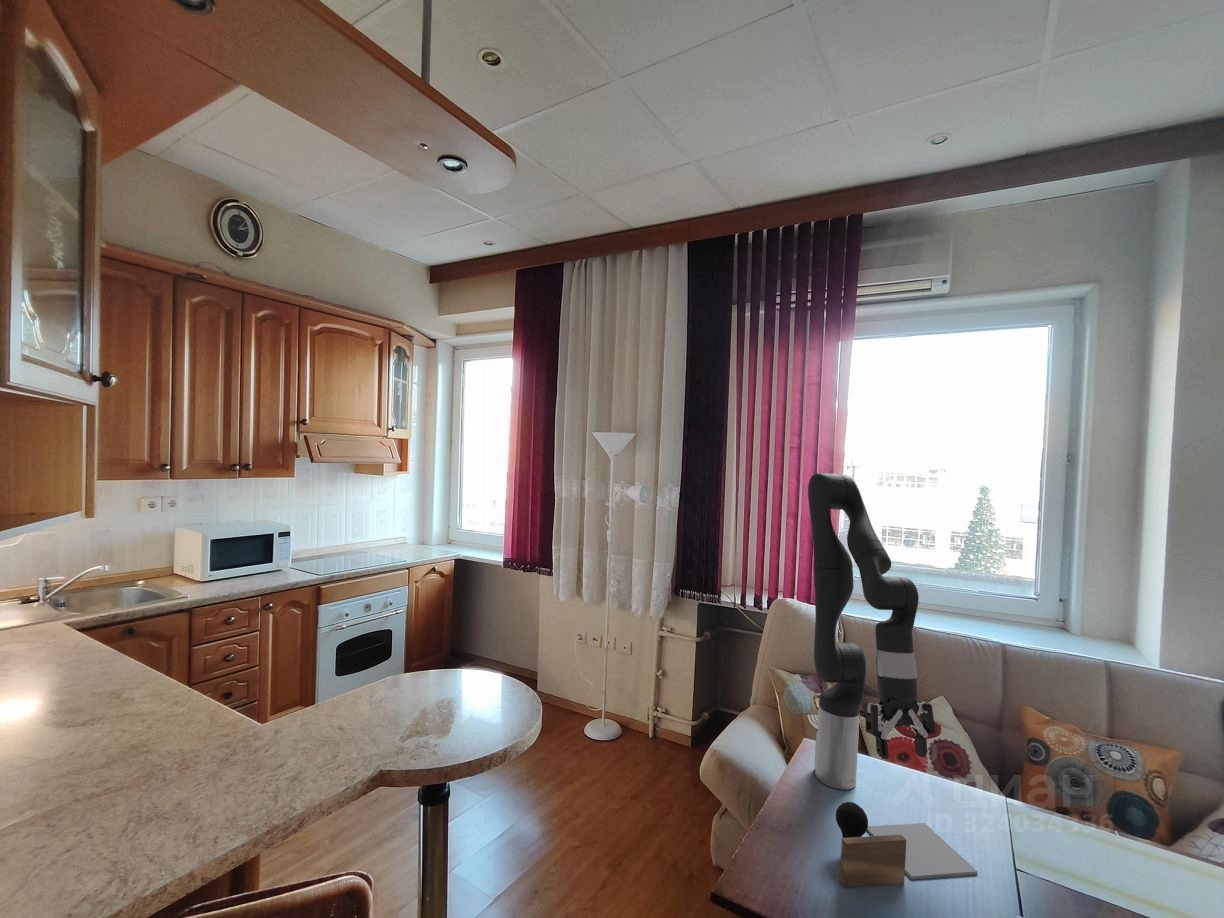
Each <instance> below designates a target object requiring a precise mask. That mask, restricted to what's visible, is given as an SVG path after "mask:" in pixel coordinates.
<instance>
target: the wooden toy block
mask: <svg viewBox="0 0 1224 918" xmlns="http://www.w3.org/2000/svg"><path fill="white" fill-rule="evenodd" d="M840 851H841V852H840V871H839V882H840V884H841V885H842V887H843V888H844V889H845V888H846V889H847V888H858V887H859V888H861V887H873V886H886V885H899V884H900V885H901V883H902V884H905V876H906V875H905V874H906V873H905V858H906V839H905V838H904V837H903V836H902V835H901V834H900V835H884V836H871V835H869V836H861V837H851V838H843V837H841V849H840Z"/></svg>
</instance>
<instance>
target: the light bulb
mask: <svg viewBox="0 0 1224 918" xmlns="http://www.w3.org/2000/svg"><path fill="white" fill-rule="evenodd" d="M835 821H836V824H837V826H838V828H839V829H840V832H841V836H842V837H841V838H851V837H863V836H864V835H865V833H866V832H867V828H868V826H869V820H868V816H867V814H866V812H865V810H864V809H863V808H862V807H861V806H860V805H858V804H857V803H855V802H852V801H845V802H842V803H841V804H839V805H838V806H837V808H836V811H835Z"/></svg>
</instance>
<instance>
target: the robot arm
mask: <svg viewBox="0 0 1224 918" xmlns="http://www.w3.org/2000/svg"><path fill="white" fill-rule="evenodd" d="M808 481H809V482H808V486H807V499H808V507H809V516H810V523H811V530H812V531H811V532H812V550H813V583H814V584H813V585H814V602H815V603H814V604H815V605H814V606H815V611H814V612H815V622H814V641H813V643H814V644H813V645H814V646H813V663H814V669H815V672H816V674H817V677H818V678H819V679H820V680H821V681H822V682H824V683H834V685H833V686H831V687H829V688H827V689H824V690H823V691H821V693H820V694H819V697H818V717H817V718H818V721H817V731H816V733H815V746H814V747H815V748H814V750H815V752H814V768H813V769H814V770H815V771H814V773H815V777H816V779H817V780H819V782H821V783H822V784H823V785H825V786H828V787H830V788H833V789H837V790H851V789H854V788H855V787H856V784H857V772H858V771H857V770H858V752H859V732H860V714H861V713H860V710H861V707H862V705H863V700H864V692H865V682H866V676H867V675H866V672H867V662H866V661H867V660H866V657H865V654H864V652H863V650H862V648H861V646H859V644H857V643H855V642H841V641H840V642H837V641H836V631H837V625H838V621H839V619H840V616H841V614H842V613H843V611H844V610H845V608H846V606H847V604H848V602H849V601H850V599H851V597H852V594H853V592H854V569H853V567H854V566H853V561H852V559H853V560H854V563H855V564H856V566H857V568H858V571H859V576H860V581H861V585H862V591H863V592H862V593H863V596H864V599H865V601H866V602H867V604H868V605H870V606H871V607H872V608H874V609H875V610H878V611H879V610H880V611H881V610H882V611H892V612H891V615H890V617H889V618H888V619H885V620H883V621H879V622H877V624H875V645H876V658H875V665H876V668H875V669H876V682H877V693H878V696H879V701H878V703H872V702H870V701H866V702H865V704H864V705H865V709H864V710H865V712H864V714H865V715H864V716H865V732H866V733H867V734H870V735H872V736H873V737H875V747H876V748H875V749H876V754H877V755H878V756H879V757H880V758H882V759H883V760H888V759H889V743H888V739H887V737H888V736H889V734H890V732H892V731H893V730H894V728H895V727H898V728H899V727H902V726H905V727H910V728H911V729H912V731H913V733H914V734H915V735H913V736H914V748H915V749H914V750H915V754H916V756H918V757H920V758H926V757H927V754H928V743H927V741H928V739H927V738H928V737H929V736H930V735H935V734H936V726H935V719H934V718H935V717H934V711H933V706H932V705H933V704H931V703H928V702H925V701H923V700H919V702H918V699H919V689H918V688H919V687H918V685H919V684H918V674H917V672H918V671H917V662H916V658H915V653H914V652H915V651H914V640H913V639H914V638H913V630H914V625H915V620H916V615H917V611H918V607H919V598H920V597H919V596H920V595H919V591H918V588H917V586H916V585H915V583H914V582H913V581H912V580H911V579H910V578H908V577H905V576H883V575H884V574H886V573H888V572H889V571H890V569H891V567H892V560H891V558H890V556H889V554H888V552H887V550H886V549H885V548H884V546H883V544H882V542H881V541H880V539H879V537H878V535H877V533H876V531H875V529H874V527H873V525H872V522H871V520H870V516H869V514H868V512H867V508H866V505H865V502H864V500H863V498H862V497H863V496H862V495H861V492H860V489H859V487H858V485H857V482H856V481H855V480H854V479H853V478H852V476H850V475H847V474H842V473H826V472H818V473H814V474H812V476H811V477H810V479H809V480H808ZM831 510H836V511H838V510H839V511H841V510H842V511H843V512H844V514H845V515H846V516H847V517H848V520H849V527H848V531H847V535H846V536H847V537H846V543H847V548H848V550H849V552H850V553H849V552H848V550H847V549H846V547H845V546H844V544H843V543H842V541H841V539H840V537H838V535H837V533H836V531H835V529H834V526H833V522H832V518H831V517H832V516H831ZM850 554H851V555H850ZM850 556H851V557H852V558H851V557H850ZM918 713H919V717H920V719H919V718H918V716H917V715H918ZM879 715H880V716H879ZM886 721H887V722H886Z"/></svg>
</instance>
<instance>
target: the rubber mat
mask: <svg viewBox="0 0 1224 918" xmlns="http://www.w3.org/2000/svg"><path fill="white" fill-rule="evenodd" d="M867 831H868V832H869V833H870V834H871V835H870V834H869V833H868V832H867ZM867 831H866V832H867V833H868V834H869V835H870V836H884V835H900V834H901V835H902V836H903V837H904V838H905V839H906V858H905V874H906V875H907V877H908V878H909V879H910V880H921V879H923V880H924V879H925V880H926V879H936V878H948V877H949V878H951V877H961V876H962V877H964V876H975V875H978V870H977V869H975V867H974V866H972V865H971V864H970V863H969V862H968V861H967V860H966V859H965V858H963V857H962V855H960V854H959V853H958V852H957V851H956V850H955V849H954V848H953V847H951V846H950V844H949V843H947V842H946V841H945V840H944V839H943V838H942V837H940V835H938V834H937V833H936V832H935V831H934V830H933V829H932V828H931V827H930V826H929V825H928V824H926V823H925V822H921V823H904V824H903V823H902V824H901V823H899V824H888V825H872V826H871V825H868V828H867Z"/></svg>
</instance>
